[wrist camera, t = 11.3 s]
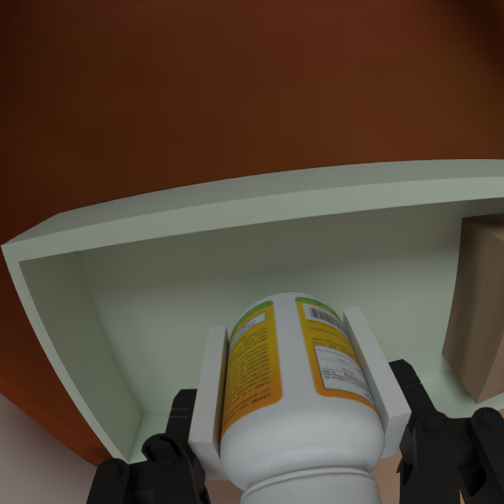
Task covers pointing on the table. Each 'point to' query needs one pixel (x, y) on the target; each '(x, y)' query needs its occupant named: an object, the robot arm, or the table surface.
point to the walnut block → (478, 308)
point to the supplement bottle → (298, 408)
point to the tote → (246, 277)
